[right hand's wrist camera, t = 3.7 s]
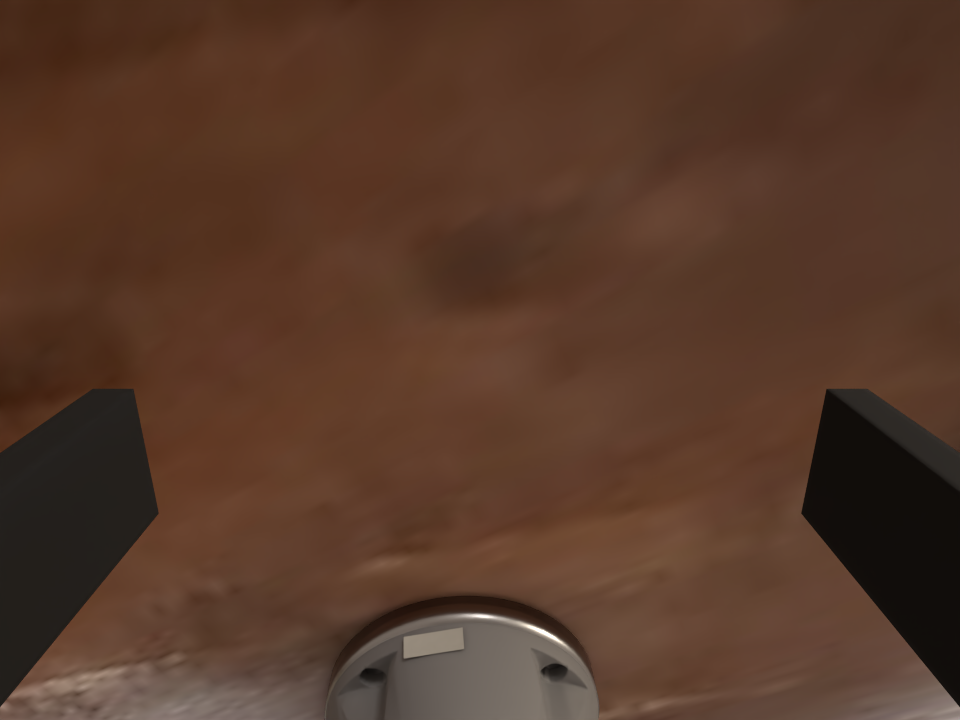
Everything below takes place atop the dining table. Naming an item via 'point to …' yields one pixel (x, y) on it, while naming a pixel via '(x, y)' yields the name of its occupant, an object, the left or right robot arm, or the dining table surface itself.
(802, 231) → the dining table surface
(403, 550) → the dining table surface
